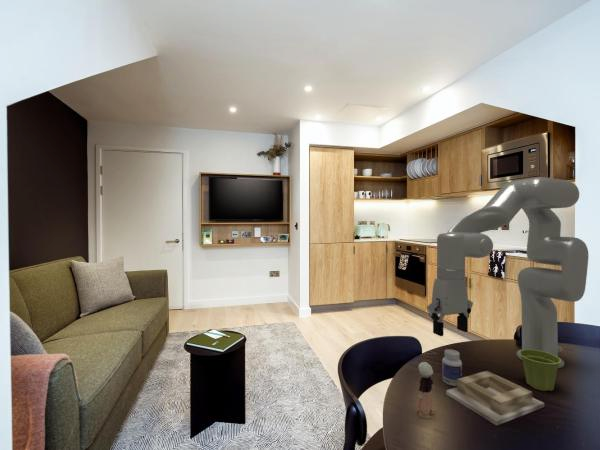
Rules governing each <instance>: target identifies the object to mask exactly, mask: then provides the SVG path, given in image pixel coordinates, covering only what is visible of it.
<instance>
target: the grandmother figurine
mask: <svg viewBox="0 0 600 450" xmlns="http://www.w3.org/2000/svg"><path fill="white" fill-rule="evenodd" d="M418 372H419V375H420V376H421V378H420V380H419V387H418V395H417V406H416V408H417V411H419V412H418V416H419V417H420V418H422V419H425V420H430V419H431V418H432V417H431V415H432V416H433V415H435V412H434V411H433V409H434V406H433V398H432V390H435V388H436V387H435V384H434V381H433V379H432V377H431V376H432V375H433V374H434V369H433V368H432V366H431V365H430V364H429V363H428V362H427V361H422V362H420V363H419V364H418Z"/></svg>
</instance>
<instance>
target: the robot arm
mask: <svg viewBox="0 0 600 450" xmlns="http://www.w3.org/2000/svg"><path fill="white" fill-rule="evenodd" d="M579 199H580V190H579V187H578V186H577V184H575V183H574V182H572V181H570V180H566V179H565V180H564V179H558V178H552V177H544V176H542V177H539V176H538V177H537V176H536V177H530V178H524V179H523V178H522V179H517V180H510V181H508V182H506V183H504V184H503V185H502V186H501V188H500V189H499V190H498V191H497V192H496V193H495V194H494V195H493V196H492V198H490V200H489V201H488V202H487V203H486V205H484V206H483V207H481V208H479V209H478V210H476V211H473V212H472V213H470V214H469V215H466V216H465V217H463V218H461V219H460V220H458V221H457V222H456V223H455V224H453V226H451V228H449V230H448V231H447V232H445V233H444V232H441V233H439V234H438V235H437V237H436V278H435V279H434V282H433V287H432V292H431V293H432V295H431V302H430V304H429V305H427V306H426V310H427V313H428V316H429V317H430V319H431V320H432V324H433V325H432V333H433V334H435V335H437V336H439V337H444V322H443V320H444V318H445V317H446V316H449V315H450V316H451V315H457V317H456V328H457V330H459V331H462V332H464V333H468V330H469V329H468V326H469V323H468V320H469V318H470V313H471V312H472V308H473V305H474V302H473V301H472V300H470V299H469V296H468V286H467V281H466V258H472V259H473V258H474V259H476V258H477V259H482V258H486V257H487V256H489V255H490V254H491V253H492V251H493V249H494V243H493V240H492V239H491V238H490V237H489V235H487V234H485V233H484V232H488V231H494V230H496V229H500V228H502V227H505V226H506V225H508V224H510V222H511V221H512V220H513V219H514V218H515V216H516V215H517V214H518V213H519V212H520V211H521V210H522V211H523V213H524V214H525V215H526V217H527V220H528V225H529V226H528V235H527V243H526V256H527V259H528V261H531V262H533V263H536V264H542V265H549V266H550V265H551V266H560V267H561V269H555V268H549V267H547V268H546V267H537V266H528V267H525V268H522V269H521V270H520V271H519V272H518V273H517V286H518V289H519V293H520V301H521V349H519V350H517V351H516V357H517V358H518V359H520V360H521V361H523V360H522V358H521V356H520V354H519V351H520V350H524V349H532V350H539V351H544V352H547V353H550V354H553V355H555V356H557V357H559V355H558V354H559V353H560V352H563V350H564V348H563V347H562V346H561V345H558V344H559V343H558V337H559V336H558V309H557V307H556V305H555V303H554V301H553V300H559V301H564V302H572V303H575V302H579V301H580V300H582V298H583V297H584V295H585V292H586V285H587V278H588V276H587V275H588V267H589V250H588V249H589V248H588V246H587V244H586V242H585V241H584V240H582V239H580V238H577V237H574V236H561V232H562V231H561V230H562V229H561V227H562V223H561V220H560V218H559V216H558V215H557V214H556V213H555V212H554V211H553V210H552V209H567V208H570V207H573V206H574V205H576V203H578V201H579ZM552 299H553V300H552ZM559 358H560V357H559ZM560 359H561V363H560V364H559V367H558V368H557V369H562V368H563V367H565V362H564V360H563V358H560Z"/></svg>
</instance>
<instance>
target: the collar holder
mask: <svg viewBox="0 0 600 450" xmlns="http://www.w3.org/2000/svg"><path fill="white" fill-rule="evenodd" d="M445 394H446V395H447V396H448V397H450V398H451V399H453V400H454V401H456V402H458V403H460V404H461V405H463V406H465V407H466V408H468V409H469V410H471V411H472V412H474V413H475V414H477V415H478V416H480V417H483V419H485V420H487V421H488V422H490V423H491V424H493V425H495V426H499V425H502V424H504V423H507V422H509V421H512V420H514V419H517V418H520V417H523V416H525V415H527V414H529V413H533V412H535V411H538V410H541V409H542V408H545V402H543V401H541V400H539V399H536V398H535V397H533V391H532V390H529V389H527V388H525V387H523V386H521V385H518V384H517V383H514V382H513V381H510V380H508V379H506V378H504V377H501V376H499V375H497V374H495V373H493V372H491V371H488V370H485V371H480V372H477V373H474V374H470V375H467V376H462V378H459V379H457V386H455V387H453V388H449V389H447V390H445Z"/></svg>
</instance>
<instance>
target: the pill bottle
mask: <svg viewBox="0 0 600 450" xmlns="http://www.w3.org/2000/svg"><path fill="white" fill-rule="evenodd" d="M441 361H442V362H441V363H442V381H443V382H444V384H447V385H449V386H452V387H457V379H459V378H463V362H462V360H461V359H460V352H459V351H458V350H455V349H451V348H449V349H444V357H442V360H441Z"/></svg>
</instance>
